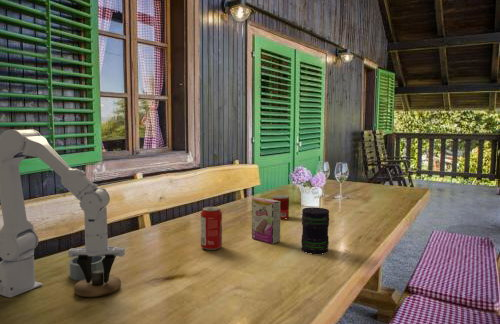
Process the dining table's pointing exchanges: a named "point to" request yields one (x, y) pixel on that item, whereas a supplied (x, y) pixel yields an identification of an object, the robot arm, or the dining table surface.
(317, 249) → the storage jar
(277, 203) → the candy bar box
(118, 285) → the lid
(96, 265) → the bowl
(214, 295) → the dining table surface
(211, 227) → the soda can
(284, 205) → the canned food
